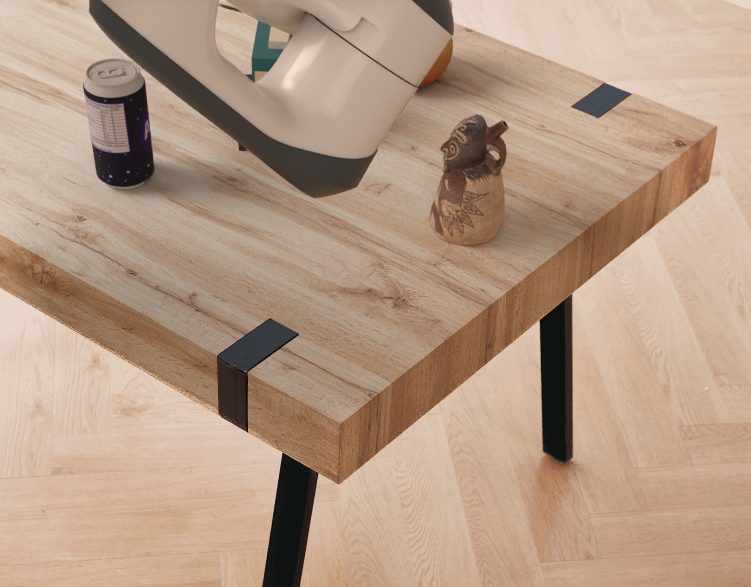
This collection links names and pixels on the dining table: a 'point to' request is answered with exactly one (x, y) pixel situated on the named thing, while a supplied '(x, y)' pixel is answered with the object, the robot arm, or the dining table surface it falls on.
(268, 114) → the robot arm
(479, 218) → the figurine
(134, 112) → the beverage can
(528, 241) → the dining table surface
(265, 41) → the tissue box
